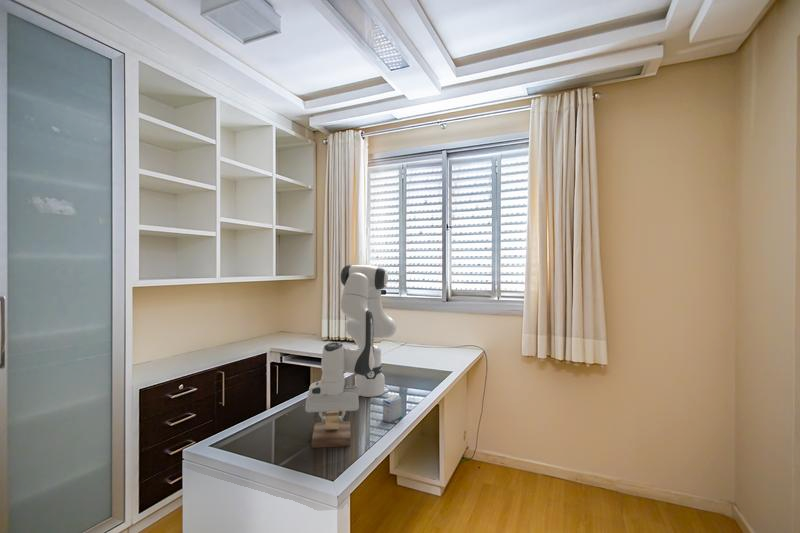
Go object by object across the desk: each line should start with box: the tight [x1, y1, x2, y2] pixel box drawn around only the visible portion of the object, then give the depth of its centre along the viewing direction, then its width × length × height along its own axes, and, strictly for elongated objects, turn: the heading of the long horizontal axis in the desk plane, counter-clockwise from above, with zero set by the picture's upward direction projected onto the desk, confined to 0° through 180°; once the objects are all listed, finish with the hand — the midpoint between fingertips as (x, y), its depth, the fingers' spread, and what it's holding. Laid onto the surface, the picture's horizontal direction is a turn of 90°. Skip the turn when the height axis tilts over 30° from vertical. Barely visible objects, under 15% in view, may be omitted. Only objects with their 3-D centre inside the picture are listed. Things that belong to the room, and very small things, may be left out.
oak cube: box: [324, 411, 340, 430], centre depth 143 cm, size 5×5×5 cm
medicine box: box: [382, 394, 403, 423], centre depth 161 cm, size 8×4×9 cm, turn 141°
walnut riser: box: [311, 420, 352, 449], centre depth 143 cm, size 14×14×3 cm
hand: (332, 421), depth 143 cm, fingers closed on oak cube, 5 cm apart
